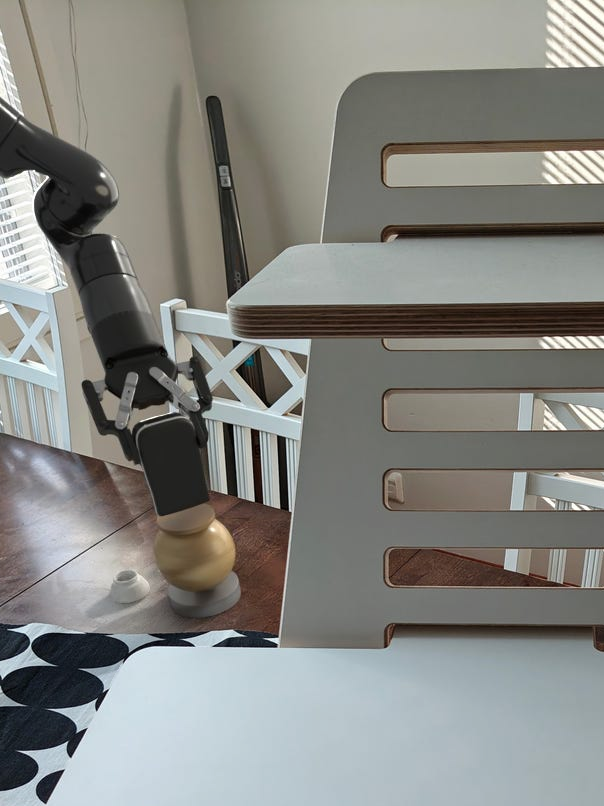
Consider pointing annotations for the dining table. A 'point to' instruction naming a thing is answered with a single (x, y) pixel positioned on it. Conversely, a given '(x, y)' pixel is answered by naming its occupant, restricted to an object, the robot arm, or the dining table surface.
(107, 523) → the dining table surface
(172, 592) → the lidded jar
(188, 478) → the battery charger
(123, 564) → the dining table surface
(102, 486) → the dining table surface
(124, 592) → the lidless jar
